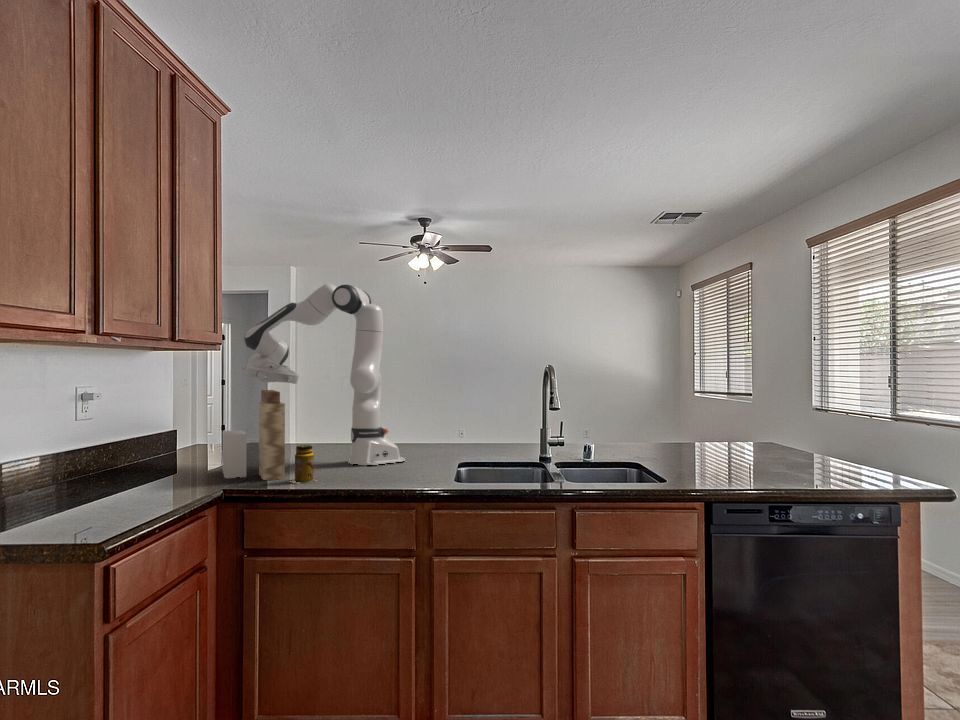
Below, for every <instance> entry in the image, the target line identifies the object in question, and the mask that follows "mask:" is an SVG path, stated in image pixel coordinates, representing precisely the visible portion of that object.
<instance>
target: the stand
mask: <svg viewBox="0 0 960 720" xmlns="http://www.w3.org/2000/svg"><path fill="white" fill-rule="evenodd" d="M258 405H259V407H258V411H259V412H258V414H259V415H258V420H259V421H258V428H259V429H258V475H259V476H261V477H260V478H261V479H263V480H266V481H274V480H273V479H279V480H285V479H286V478H285V474H286V469H285V468H286V465H285V464H286V457H285V456H286V449H285V448H286V417H285V416H286V415H285V414H286V413H285V412H286V403H284V402H281V401H280V404H267V403H265V402H262V401H259V402H258ZM284 478H285V479H284ZM263 480H262V481H263Z"/></svg>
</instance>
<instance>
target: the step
mask: <svg viewBox="0 0 960 720" xmlns="http://www.w3.org/2000/svg"><path fill="white" fill-rule="evenodd" d="M247 438H248V437H247V433H246V432H245V431H244V429H239V430H222V471H223V472H222V475H223V474H224V475H223V477H225V478H227V479H237V478H236V477H240V478H247V460H248V459H247V456H248V455H247V450H248V449H247V445H248V444H247V442H248V441H247ZM225 478H224V479H225Z"/></svg>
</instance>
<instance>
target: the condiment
mask: <svg viewBox="0 0 960 720" xmlns="http://www.w3.org/2000/svg"><path fill="white" fill-rule="evenodd" d="M295 449H296V450H295V452H296V453H295V455H294V479H289V480H286V481H292V480H295V481H296V482H302V483H297V484H296V485H300V484H306V483H305V482H309V483H312V482H311V481H313V480H315V481H316V482H318V480H316V479H314V458H315V457H314V453H313V445H311V444H301V445H297V446H296V448H295Z"/></svg>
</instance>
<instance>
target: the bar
mask: <svg viewBox="0 0 960 720" xmlns="http://www.w3.org/2000/svg"><path fill="white" fill-rule="evenodd" d="M260 402H265V403H267V404H280V402H281V392H280V391H279V390H278V391H277V390H273V389H261V390H260Z"/></svg>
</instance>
